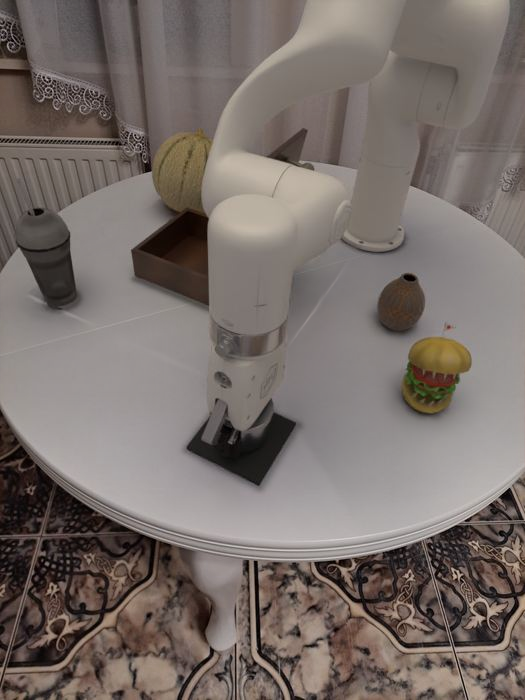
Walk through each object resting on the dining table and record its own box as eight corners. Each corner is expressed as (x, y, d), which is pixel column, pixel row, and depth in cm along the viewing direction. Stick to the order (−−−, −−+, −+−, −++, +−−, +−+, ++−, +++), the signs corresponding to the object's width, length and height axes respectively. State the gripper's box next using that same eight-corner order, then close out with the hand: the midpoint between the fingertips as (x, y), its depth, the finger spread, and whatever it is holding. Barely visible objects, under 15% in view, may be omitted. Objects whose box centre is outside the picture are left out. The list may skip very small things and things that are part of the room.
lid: (248, 171, 60) (283, 188, 60) (303, 127, 70) (333, 141, 70) (224, 283, 74) (252, 298, 74) (273, 233, 84) (298, 247, 84)
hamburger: (399, 417, 67) (425, 354, 58) (389, 376, 72) (412, 312, 63) (457, 419, 67) (491, 356, 59) (443, 378, 72) (473, 315, 64)
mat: (228, 394, 68) (228, 391, 68) (296, 425, 65) (296, 422, 65) (186, 449, 62) (186, 446, 61) (259, 486, 59) (259, 483, 58)
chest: (135, 279, 84) (130, 249, 80) (188, 235, 94) (186, 207, 90) (226, 316, 79) (227, 287, 75) (272, 265, 89) (275, 237, 85)
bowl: (232, 401, 66) (232, 374, 62) (280, 423, 64) (284, 397, 60) (202, 440, 61) (201, 413, 58) (253, 465, 59) (255, 439, 56)
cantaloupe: (144, 222, 96) (134, 144, 85) (170, 186, 106) (165, 112, 96) (219, 235, 94) (219, 157, 84) (239, 197, 105) (241, 123, 94)
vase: (419, 314, 82) (436, 269, 76) (414, 342, 77) (431, 297, 71) (377, 303, 83) (390, 258, 77) (369, 330, 78) (382, 285, 72)
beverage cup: (73, 319, 76) (38, 198, 62) (28, 311, 77) (-17, 189, 63) (94, 290, 81) (66, 171, 67) (51, 282, 82) (15, 163, 68)
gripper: (236, 397, 43) (233, 501, 56) (318, 288, 54) (300, 395, 67) (163, 364, 45) (176, 470, 58) (256, 265, 56) (250, 373, 69)
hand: (243, 429), depth 62 cm, fingers closed on bowl, 7 cm apart
